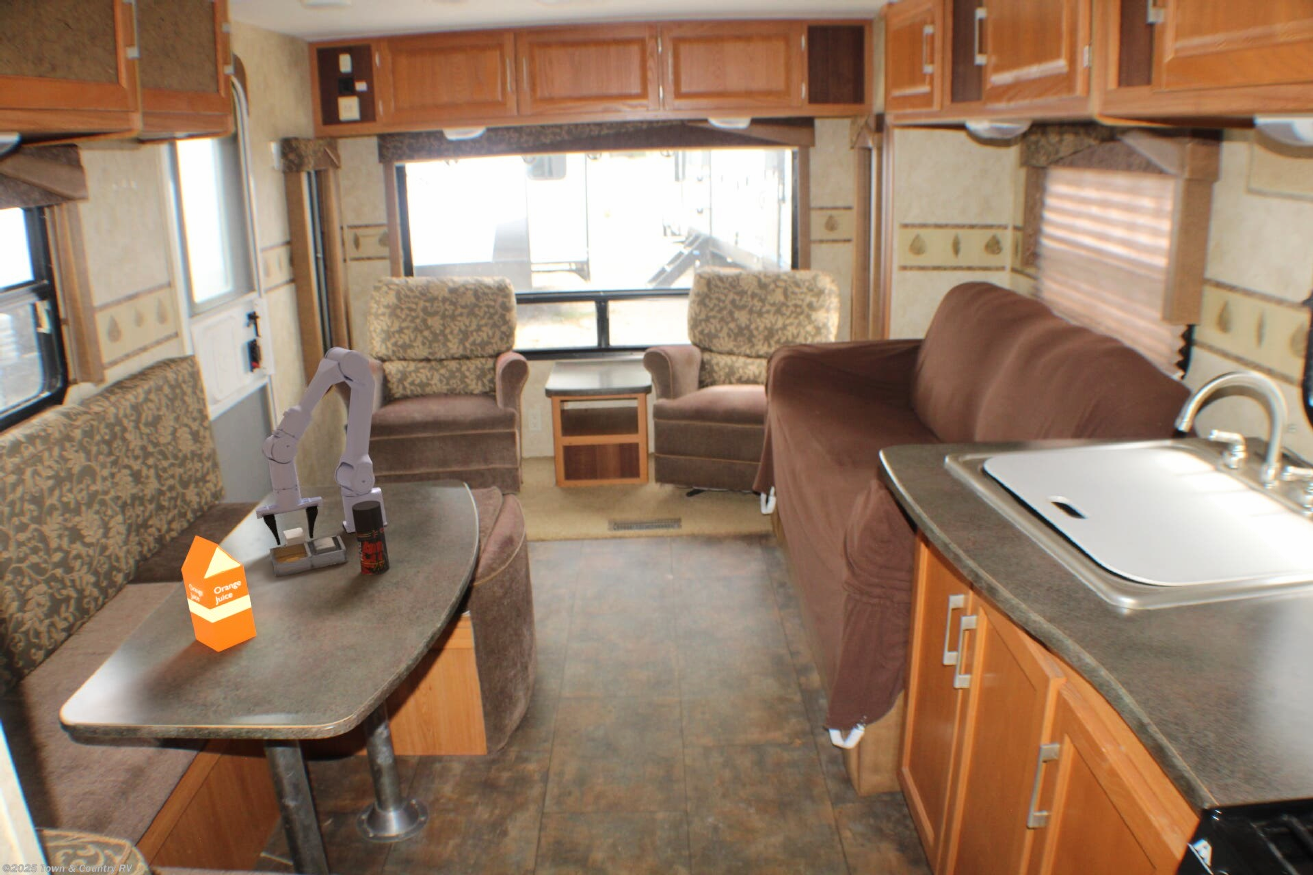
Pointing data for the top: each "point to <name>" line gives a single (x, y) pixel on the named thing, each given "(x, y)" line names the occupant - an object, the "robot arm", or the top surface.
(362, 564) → the deodorant
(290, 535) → the off-white upright block
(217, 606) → the orange juice
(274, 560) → the rack
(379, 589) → the top surface
